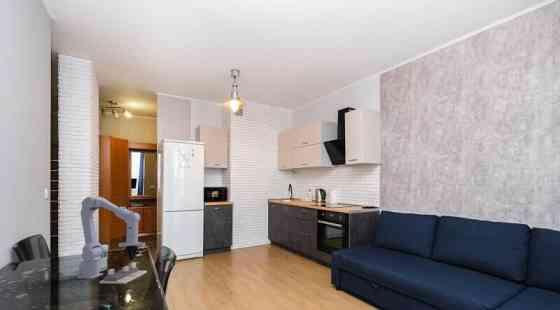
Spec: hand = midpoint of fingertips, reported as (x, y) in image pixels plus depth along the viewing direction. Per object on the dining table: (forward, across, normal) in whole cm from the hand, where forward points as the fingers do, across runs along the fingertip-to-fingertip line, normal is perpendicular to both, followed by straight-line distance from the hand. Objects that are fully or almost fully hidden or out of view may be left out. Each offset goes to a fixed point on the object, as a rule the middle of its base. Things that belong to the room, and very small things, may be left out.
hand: (131, 260), depth 155 cm
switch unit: (+8, -2, -3) cm, 9 cm away
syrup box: (+9, -27, +10) cm, 30 cm away
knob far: (+5, -1, +3) cm, 6 cm away
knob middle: (+5, -1, -3) cm, 6 cm away
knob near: (+5, -5, -9) cm, 12 cm away
